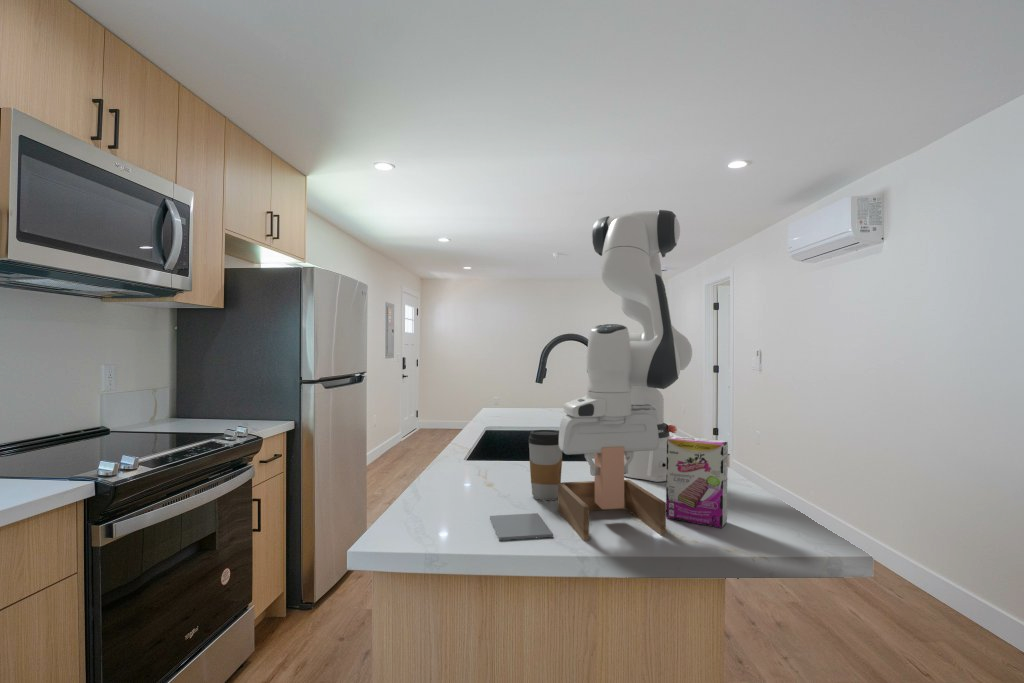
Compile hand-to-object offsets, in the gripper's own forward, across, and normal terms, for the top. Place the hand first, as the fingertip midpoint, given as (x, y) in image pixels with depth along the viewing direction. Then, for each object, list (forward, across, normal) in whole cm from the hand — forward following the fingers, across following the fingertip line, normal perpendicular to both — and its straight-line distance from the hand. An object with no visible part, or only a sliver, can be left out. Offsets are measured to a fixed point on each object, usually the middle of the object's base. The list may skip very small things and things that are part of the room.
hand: (609, 474), depth 103 cm
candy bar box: (+10, -18, +2) cm, 20 cm away
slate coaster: (+9, +18, 0) cm, 21 cm away
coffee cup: (+10, +8, -18) cm, 23 cm away
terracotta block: (+6, 0, 0) cm, 6 cm away
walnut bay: (+9, 0, 0) cm, 9 cm away
